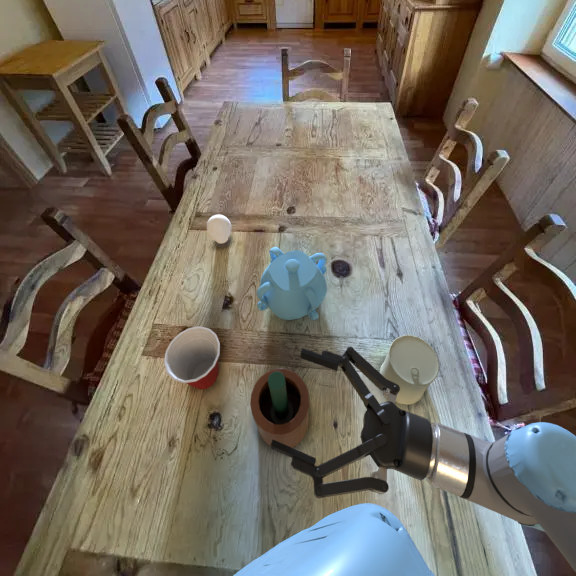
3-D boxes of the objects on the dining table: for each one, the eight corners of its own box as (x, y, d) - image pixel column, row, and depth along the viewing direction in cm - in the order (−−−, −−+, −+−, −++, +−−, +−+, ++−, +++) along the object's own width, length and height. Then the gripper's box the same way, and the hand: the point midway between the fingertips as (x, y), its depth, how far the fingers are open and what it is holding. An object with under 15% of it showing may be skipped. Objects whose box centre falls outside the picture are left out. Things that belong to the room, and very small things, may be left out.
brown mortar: (298, 459, 63) (297, 445, 54) (249, 437, 65) (240, 420, 56) (314, 401, 69) (316, 380, 60) (269, 383, 72) (264, 360, 63)
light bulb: (227, 230, 103) (221, 205, 95) (239, 244, 99) (233, 219, 91) (207, 241, 100) (199, 216, 92) (218, 256, 96) (210, 231, 88)
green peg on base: (289, 435, 65) (284, 401, 49) (268, 426, 66) (257, 390, 51) (297, 410, 68) (295, 371, 52) (276, 401, 69) (268, 360, 54)
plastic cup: (213, 338, 79) (202, 314, 71) (239, 376, 73) (230, 354, 65) (170, 371, 74) (153, 349, 66) (194, 415, 68) (179, 396, 60)
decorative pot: (315, 335, 79) (317, 307, 70) (251, 315, 83) (245, 285, 74) (331, 277, 90) (335, 245, 81) (274, 261, 94) (272, 230, 85)
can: (380, 401, 69) (390, 381, 61) (378, 354, 75) (387, 330, 67) (427, 408, 68) (444, 388, 59) (421, 359, 74) (435, 336, 66)
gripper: (413, 571, 43) (259, 495, 49) (427, 370, 60) (310, 331, 65) (428, 575, 38) (253, 489, 43) (438, 354, 54) (311, 313, 60)
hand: (287, 394), depth 54 cm, fingers open, 13 cm apart
